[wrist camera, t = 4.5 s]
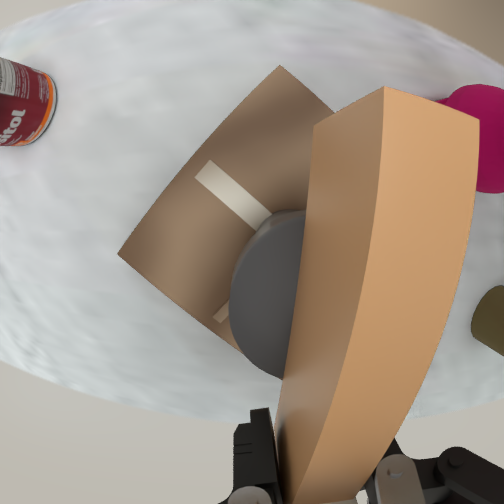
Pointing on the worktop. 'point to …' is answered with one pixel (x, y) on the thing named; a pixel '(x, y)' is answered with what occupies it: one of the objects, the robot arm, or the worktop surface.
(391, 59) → the worktop surface
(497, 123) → the pepper mill
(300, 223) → the tan long piece
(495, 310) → the cork
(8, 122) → the pill bottle
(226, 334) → the square stand base
